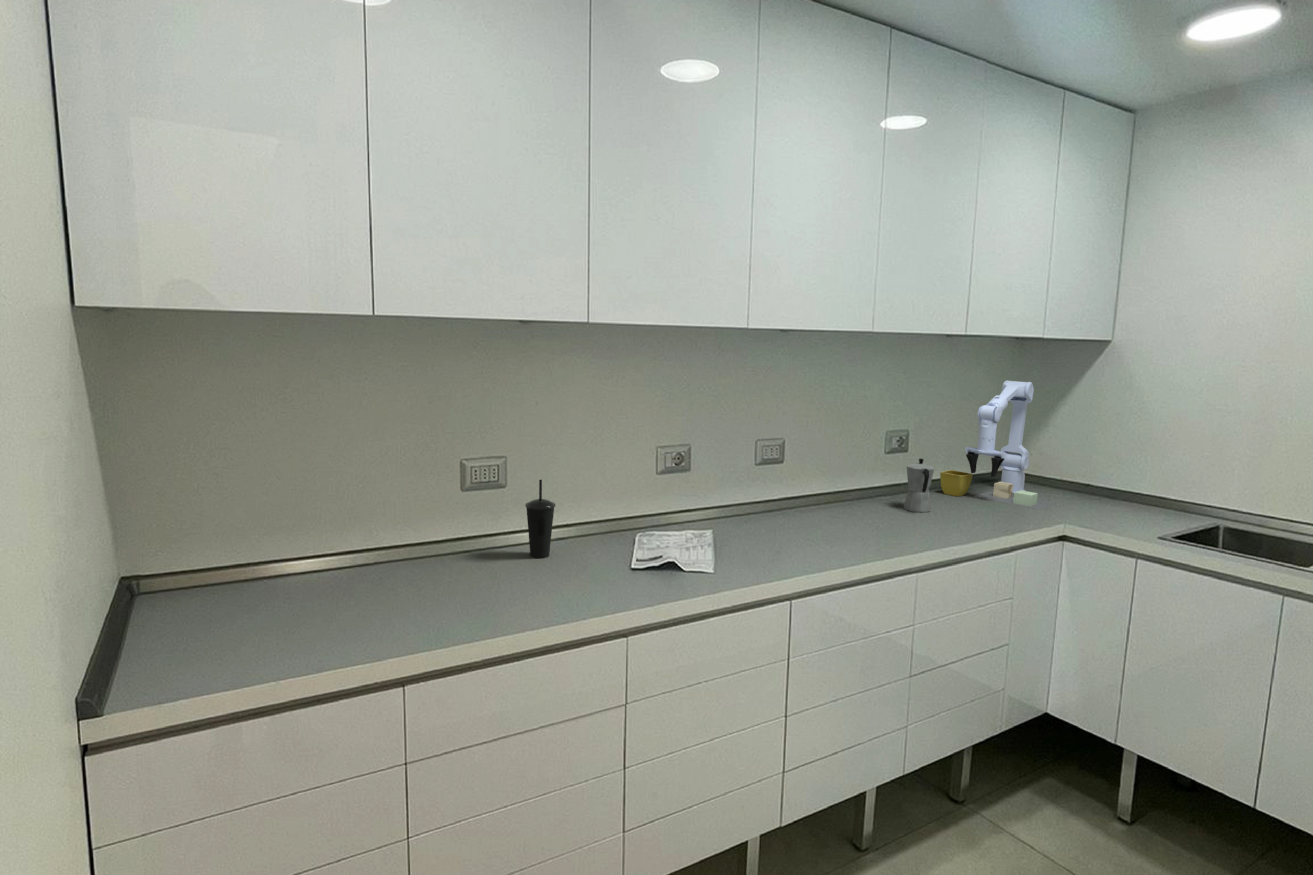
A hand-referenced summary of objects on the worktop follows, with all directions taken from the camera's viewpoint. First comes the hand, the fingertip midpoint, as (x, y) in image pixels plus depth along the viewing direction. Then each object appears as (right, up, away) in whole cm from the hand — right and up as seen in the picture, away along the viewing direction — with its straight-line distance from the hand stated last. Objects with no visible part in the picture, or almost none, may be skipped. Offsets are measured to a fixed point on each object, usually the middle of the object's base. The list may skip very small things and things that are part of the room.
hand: (983, 474), depth 266 cm
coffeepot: (-30, -12, -16) cm, 36 cm away
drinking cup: (-151, -17, -79) cm, 171 cm away
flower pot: (-7, -9, +9) cm, 14 cm away
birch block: (+11, -9, +8) cm, 16 cm away
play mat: (+12, -10, +2) cm, 16 cm away
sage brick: (+14, -10, -3) cm, 18 cm away
